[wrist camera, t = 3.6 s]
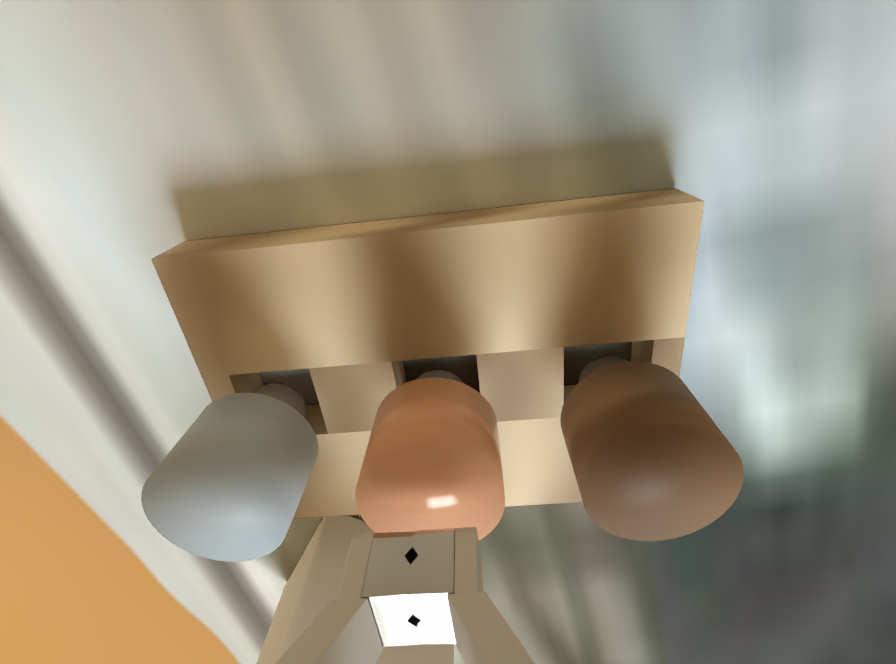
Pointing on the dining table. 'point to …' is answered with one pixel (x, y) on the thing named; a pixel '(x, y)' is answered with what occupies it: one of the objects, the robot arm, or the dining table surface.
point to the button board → (440, 317)
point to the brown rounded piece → (646, 452)
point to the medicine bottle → (331, 596)
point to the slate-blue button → (235, 476)
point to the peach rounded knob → (432, 460)
